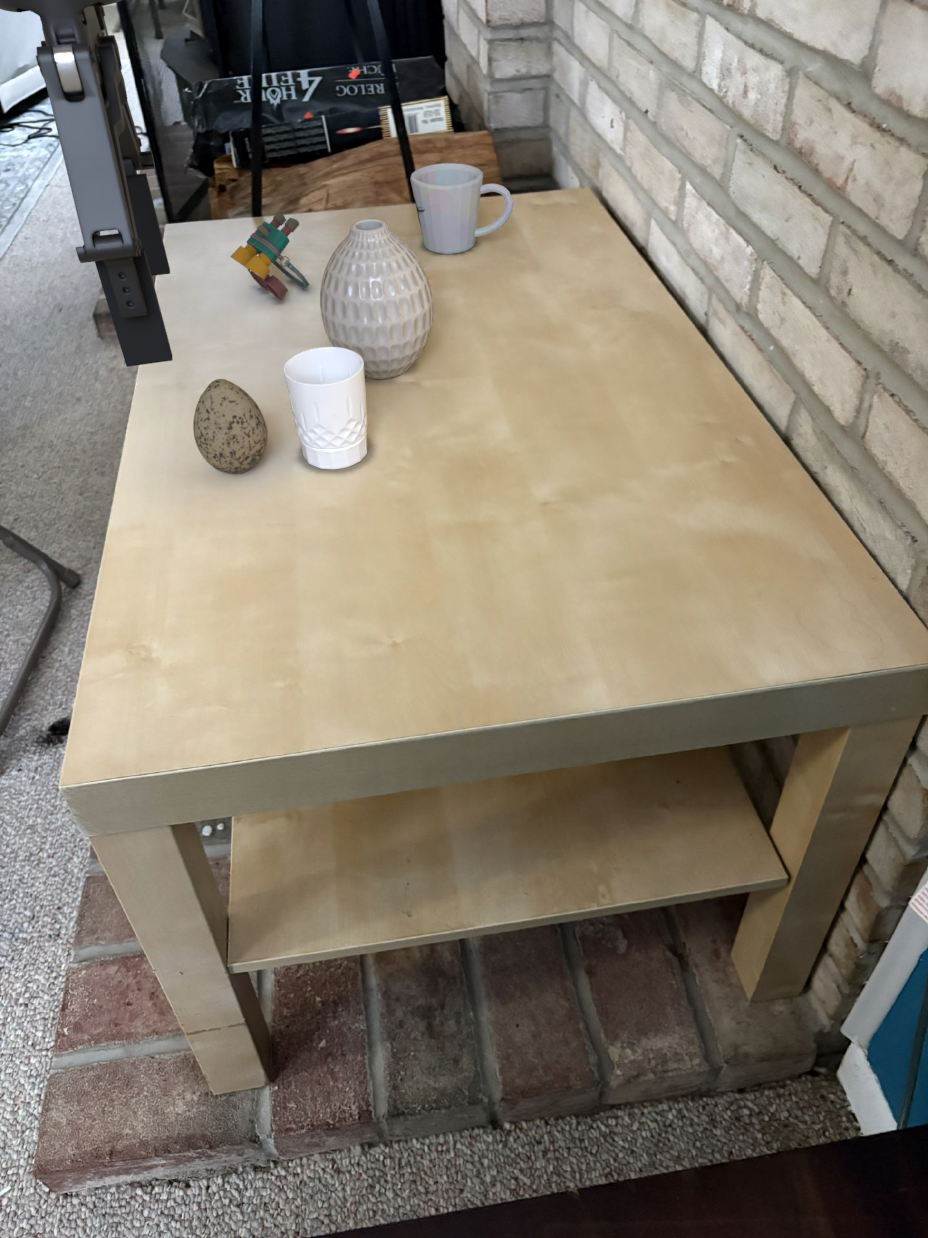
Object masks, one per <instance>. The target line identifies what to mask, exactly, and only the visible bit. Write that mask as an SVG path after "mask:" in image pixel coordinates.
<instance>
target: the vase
mask: <svg viewBox="0 0 928 1238" xmlns="http://www.w3.org/2000/svg"><path fill="white" fill-rule="evenodd" d="M431 287H432V286H431V282H430V280H429V276H428V275H427V272H426V270H425V269H424V267H423V264H422V262H421V260H420V259H419V258H418V256H417V254H416V252H414V251H413V249H412V248H411V247H410V246H409V245H408V244H407V243H406V242H405V241H404V240H403V239H402V238H401V237H399V236H398V235H396V234H395V233H394V232H392V231H391V229H390V227H389V224H388V223H387V222H386V221H384V220H381V219H377V218H367V219H361V220H358V221H356V222H354V223H352V225H350V228H349V232H348V234H347V235H346V236H345V238H344V239H343V240H342V241H341V242H340V243H339V244H338V246H337V247H336V248H335V249H334V251H332V254H331V256H330V258H329V260H328V261H327V264H326V266H325V269H324V272H323V276H322V278H321V284H320V290H319V291H320V292H319V306H320V315H321V320H322V324H323V327H324V331H325V334H326V336H327V339H328V341H329V343H330V344H331V347H340V348H345V349H349V350H352V351H354V352H356V353H358V354H359V355H360V356H361V357H362V359H363V361H364V375H365V378H367V379H372V380H387V379H388V380H389V379H395V378H396V377H399V376H401V375H403V374H405V373H406V372H407V371H408V370H410V368H411V367H412V366H413V364H415V362H416V361H417V360H418V359H419V357H420V356H421V354H422V352H423V350H424V349H425V347H426V344H427V343H428V340H429V338H430V335H431V331H432V326H433V321H434V301H433V292H432V288H431Z"/></svg>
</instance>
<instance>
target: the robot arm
mask: <svg viewBox="0 0 928 1238" xmlns="http://www.w3.org/2000/svg"><path fill="white" fill-rule="evenodd" d="M122 1H123V0H0V10H2V11H6V12H11V13H24V12H31V13H34V14H35V15H37V16H38V17H39V20H40V22H41V30H42V33H43V38H44V40H40V46H36V49H35V50H36V55H35V60H36V63H37V66H38V68H39V72H40V74H41V77H42V78H43V80H44V84H45V87H46V91H47V94H48V98H49V102H50V105H51V110H52V115H53V118H54V123H55V126H56V132H57V135H58V140H59V143H60V144H59V145H60V148H61V152H62V156H63V160H64V165H65V169H66V173H67V178H68V182H69V186H70V190H71V195H72V198H73V202H74V207H75V212H76V215H77V220H78V225H79V229H80V232H81V237H82V241H83V244H82V246H75V251H76V255H77V258H78V261H79V263H80V264H85V263H94V264H95V267H96V271H97V273H98V277H99V280H100V283H101V287H102V290H103V294H104V297H105V300H106V304H107V307H108V310H109V313H110V316H111V320H112V323H113V327H114V331H115V334H116V337H117V340H118V343H119V346H120V350H121V354H122V357H123V360H124V363H125V366H126V367H127V368H128V367H135V366H142V365H149V364H157V363H165V362H172V361H173V360H174V359H173V352H172V348H171V344H170V340H169V336H168V333H167V330H166V325H165V321H164V318H163V314H162V309H161V307H160V303H159V299H158V295H157V291H156V287H155V284H154V280H153V277H155V276H162V275H170V274H171V267H170V264H169V260H168V255H167V251H166V248H165V244H164V241H163V236H162V232H161V228H160V223H159V219H158V216H157V211H156V208H155V204H154V199H153V195H152V191H151V188H150V187H151V186H150V184H149V180H148V174H147V173H146V172H145V173H138V171H147V170H155V169H156V166H155V161H154V156H153V153H152V150H147V151H142V149H141V148H142V146H143V145H142V139H141V137H139V136H138V132H137V129H136V125H135V122H134V118H133V114H132V112H131V108H130V105H129V101H128V94H127V88H126V82H125V78H124V75H123V72H122V69H123V67H122V61H121V55H120V49H119V45H118V41H117V38H116V36H115V35H114V34H109V32H108V29H107V28H108V27H107V24H106V20H105V16H106V13H105V9H104V6H108V5H113V4H116V3H120V2H122ZM106 231H117V232H118V233H110V234H102V235H101V232H106Z"/></svg>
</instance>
